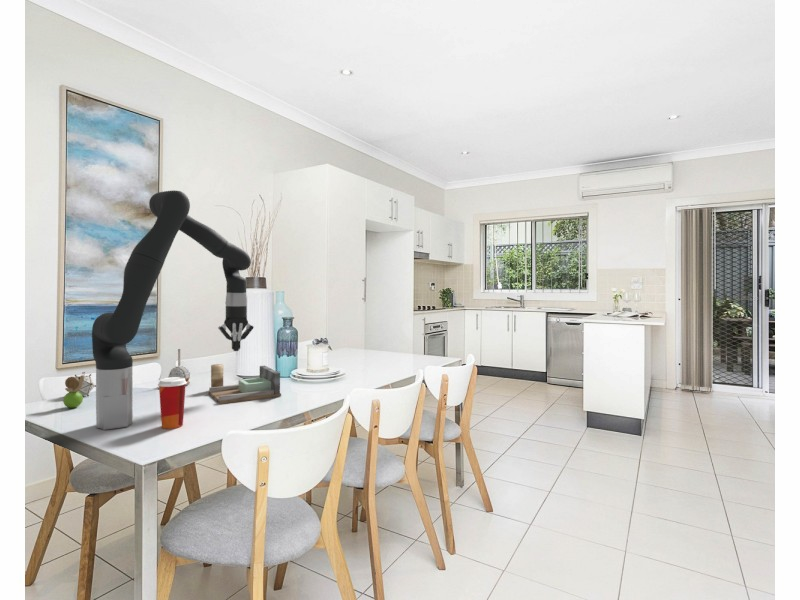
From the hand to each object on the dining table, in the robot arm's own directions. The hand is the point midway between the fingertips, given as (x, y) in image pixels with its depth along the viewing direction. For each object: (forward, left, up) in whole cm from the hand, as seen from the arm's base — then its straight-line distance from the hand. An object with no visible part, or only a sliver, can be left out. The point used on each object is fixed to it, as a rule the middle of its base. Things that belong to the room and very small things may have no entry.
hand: (236, 350), depth 174 cm
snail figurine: (+10, +50, -17) cm, 54 cm away
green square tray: (-1, -7, -16) cm, 17 cm away
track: (-1, -3, -17) cm, 17 cm away
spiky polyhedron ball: (+27, +48, -17) cm, 58 cm away
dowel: (+12, +4, -17) cm, 21 cm away
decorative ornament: (+29, +15, -17) cm, 37 cm away
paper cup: (-28, +26, -17) cm, 42 cm away
